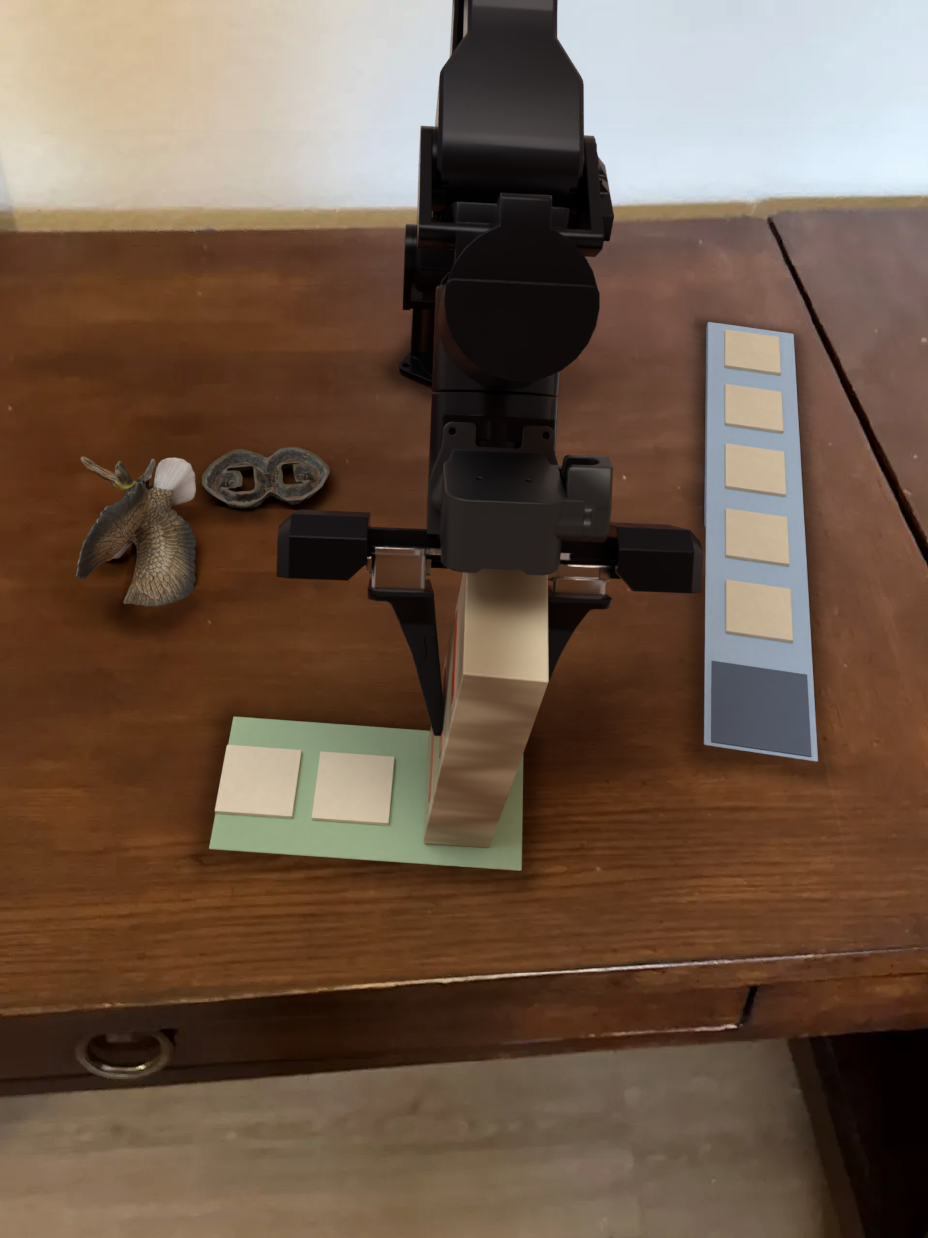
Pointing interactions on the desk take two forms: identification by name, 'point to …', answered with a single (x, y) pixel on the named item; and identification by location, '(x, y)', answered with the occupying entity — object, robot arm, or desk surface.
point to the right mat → (755, 549)
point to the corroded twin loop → (265, 476)
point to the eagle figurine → (146, 531)
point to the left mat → (342, 796)
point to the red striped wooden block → (486, 703)
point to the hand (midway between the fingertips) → (479, 735)
